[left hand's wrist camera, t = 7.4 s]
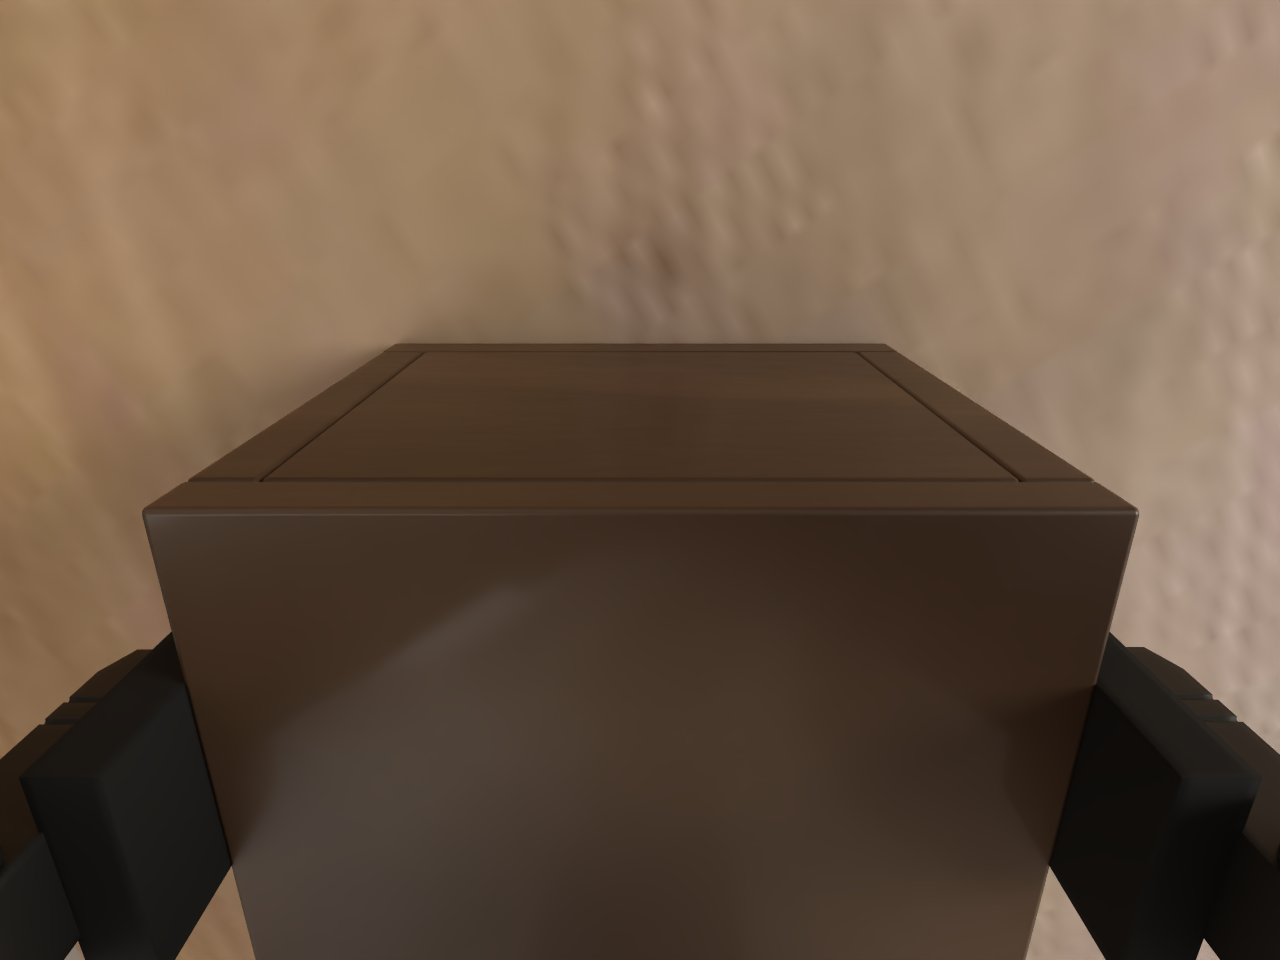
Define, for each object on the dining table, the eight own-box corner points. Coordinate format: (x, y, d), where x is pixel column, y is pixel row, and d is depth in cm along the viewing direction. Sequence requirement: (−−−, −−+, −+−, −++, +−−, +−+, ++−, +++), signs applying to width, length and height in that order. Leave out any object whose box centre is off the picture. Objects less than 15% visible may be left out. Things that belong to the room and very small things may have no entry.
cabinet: (817, 939, 22) (919, 1377, 14) (463, 939, 22) (360, 1377, 14) (886, 342, 16) (1145, 509, 8) (394, 343, 16) (137, 508, 8)
